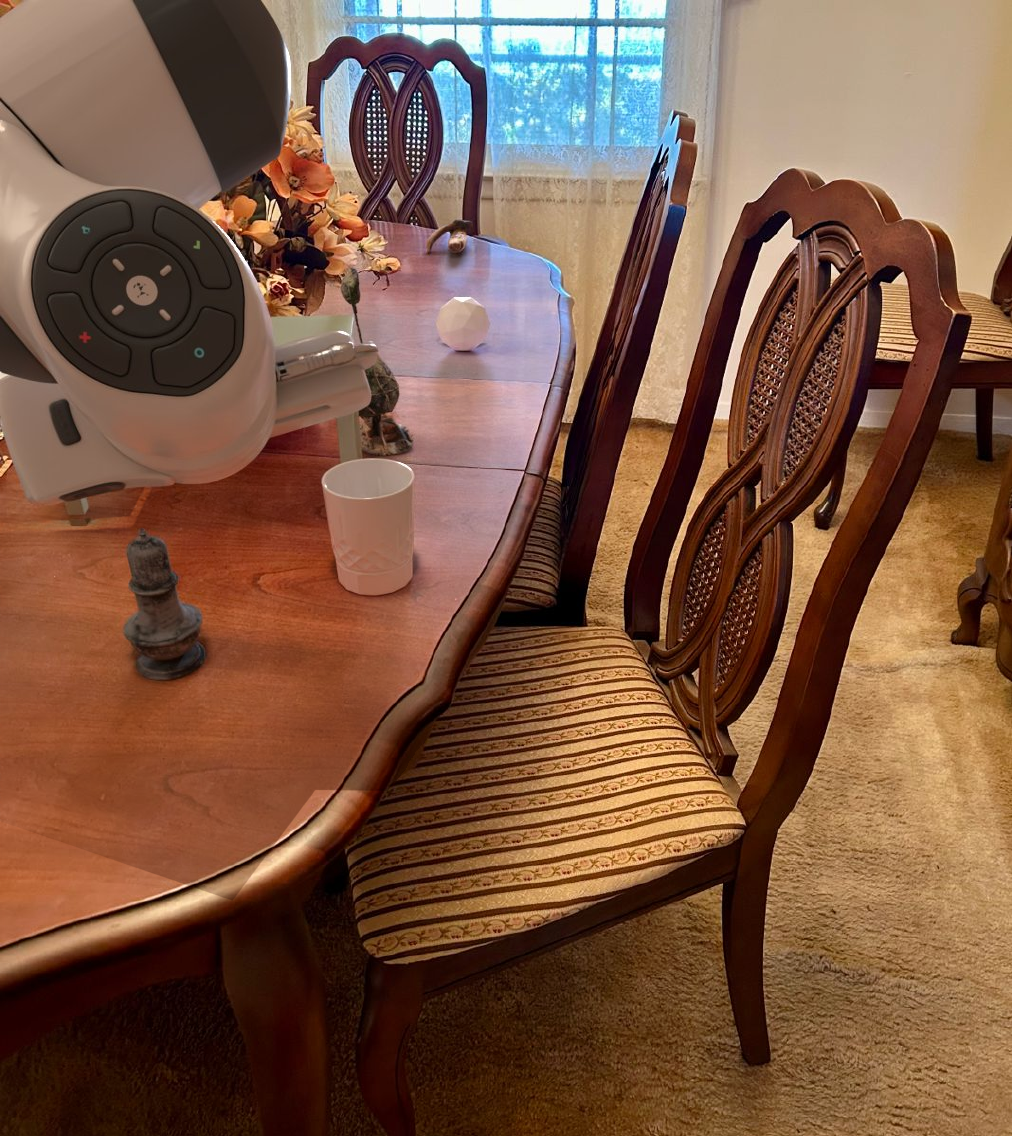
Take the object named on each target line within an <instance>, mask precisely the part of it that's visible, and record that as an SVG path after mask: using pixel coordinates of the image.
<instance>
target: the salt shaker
mask: <svg viewBox="0 0 1012 1136" xmlns="http://www.w3.org/2000/svg"><path fill="white" fill-rule="evenodd" d="M147 534H148V530H146V529H145V528H143V527H140V528H139V530H138V532H137V535H138V537H136V538H133V540H131V541H130V542H129V543H128V545H127V546H126V549H125V551H126V553H125V554H126V558H127V563H128V567H129V571H130V575H131V579H130V580H129V582H128V590H130V592H132V593H133V594H134V596H135V600H136V604H137V611H136V612H135V613H133V614H132V615H131V616H130V617H129V618H128V619H127V620H126V621H125V623H124V625H123V626H122V627H123V628H122V634H123V635H124V638H125V639H126V640H127V641H128V642H129V643H130V644H131V646H132V647H133V649H134V650H135V651H136V652H137V653H138V654H140V655H139V656H138V658H137V660H136V664H135V666H136V670H137V672H138V674H140V675H141V676H142V677H144V678H146V679H148V680H152V681H170V680H176V679H179V678H183V677H185V676H188V675H189V674H191V673H194V672H195V671H196V670H197V669H199V668H200V667H201V666H202V665H203V663H204V662H205V659H206V656H207V655H206V653H207V652H206V649H205V647H204V646H203V645H202V644H201V643H200V642H198V639H199V635H200V632H201V625H202V623H203V614H202V611H200V609H199V608H197V607H196V606H195V605H193V604H190V603H187V602H182V601H180V597H179V593H178V588H177V585H178V583H179V581H180V580H179V579H180V578H179V575H178V574H177V573H176V572H175V571H174V570H172V566H171V561H170V557H169V552H168V548H167V547H168V546H167V545H166V542H165V541H164V540H162V538H160V537H158V536H154V535H147Z"/></svg>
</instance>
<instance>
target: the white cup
mask: <svg viewBox="0 0 1012 1136" xmlns="http://www.w3.org/2000/svg"><path fill="white" fill-rule="evenodd" d="M321 488H322V494H323V499H324V507H325V512H326V521H327V527H328V531H329V536H330V542H331V548H332V552H333V555H334V558H335V564H336V570H337V578H338V582H339V583H340V584H341V586H342V587H344V588H345V590H347V591H349V592H352V593H355V594H357V595H361V596H382V595H386V594H392V593H395V592H397V591H398V590H401V589H402V588H404V587H406V586H407V585H408V584H409V582H410V581H411V580H412V579H413V577H414V573H413V572H414V571H413V570H414V569H413V566H414V565H413V564H414V563H413V556H414V555H413V554H414V553H413V552H414V549H415V473H414V471H413V470H412V468H410V467H409V466H408V465H406V464H404V463H402V462H400V461H397V460H393V459H387V458H374V457H373V458H371V457H370V458H369V457H367V458H362V459H358V460H352V461H348V462H344V463H341V464H340V463H339V464H337V465H334V466H333V467H331V468H329V469H328V470H327V471H325V473H324V474H323V475H322V478H321Z"/></svg>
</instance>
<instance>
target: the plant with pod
mask: <svg viewBox="0 0 1012 1136" xmlns="http://www.w3.org/2000/svg"><path fill="white" fill-rule="evenodd" d="M340 292H341V295H342V297H343V298H344V300H345V301H346V302H347V303H348V305H351V307H352V311H353V315H354V322H355V325H356V327H357V332H358V338H359V342H360V344H361V343H364V341H363V337H362V332H361V328H360V324H359V319H358V307H357V304H359V302H360V301H361V290H360V278H359V274H358V270H357V269H356V268H355V267H348V268H347V271H346V272H345V274H344V276H343V278H342V281H341V283H340ZM364 371H365V374H366V377H367V380H368V383H369V386H370V390H371V401H370V404H369V405H368V406H366V407H365V408H363V409H361V410H359V418H361V423H360V435H361V447H362V453H365V454H367V455H371V456H378V457H380V456H381V457H385V456H386V455H389V457H390V456H392V455H395V454H396V455H399V454H403V452H405V453H406V452H407V451H409V450H411V449H412V448H413V446H414V444H413V440H414V438H413V436H414V434H411V433H409V429H407V426H406V425H403V424H402V423H398V422H397V421H396V419H395V418H394V416H393V415H392V414H391V413H392V412H393V411H394V410H395V407H396V406H397V404H398V401H399V398H400V384H399V382H398V380H397V378H396V377H395V375H394V373H393V371H392V369H391V368H390V367H389V366H388V363H386V361H384V360H383V358H382V357H381V356H380V355H379V353H378V358H377V361H376V363H375V364H374V365H373V366H371V367H370V368H368V369H366V370H364Z"/></svg>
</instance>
